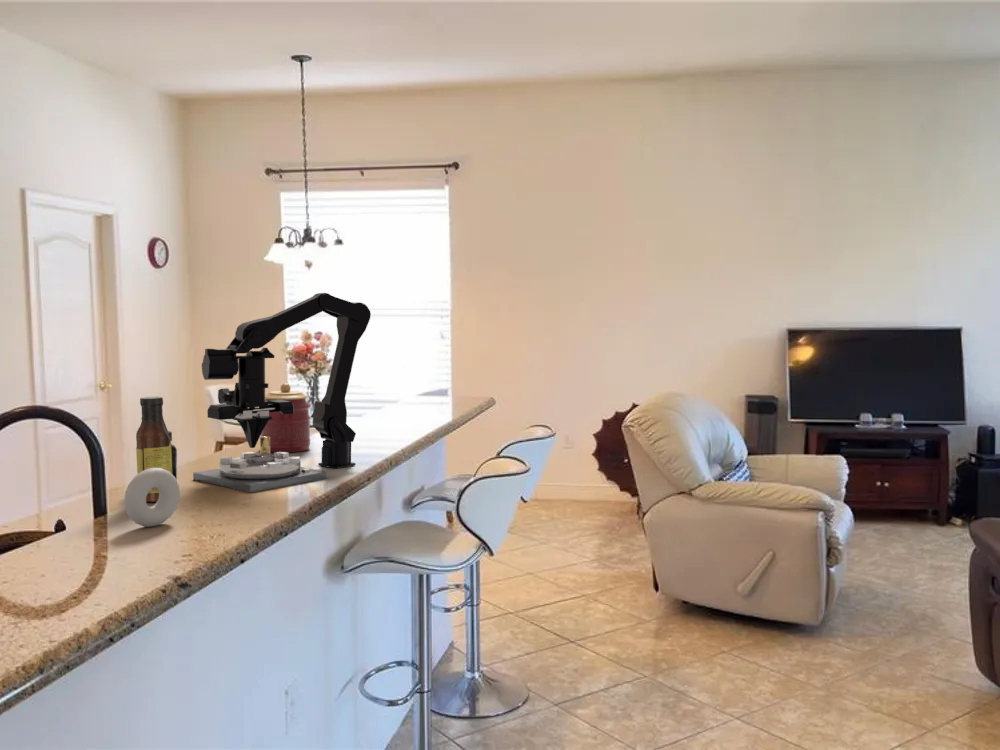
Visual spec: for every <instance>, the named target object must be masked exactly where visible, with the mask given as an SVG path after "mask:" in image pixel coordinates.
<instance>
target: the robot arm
mask: <svg viewBox="0 0 1000 750" xmlns="http://www.w3.org/2000/svg"><path fill="white" fill-rule="evenodd" d="M322 312H323V313H325V314H327V315H329V316H331V317H333V318H336V329H337V337H338V339H337V344H336V349H335V351H334V355H333V356H334V357H333V361H332V366H331V370H330V373H329V377H328V381H327V387H326V392H325V395H324V397H323V398H322V399H321V401H318V400H315V401H314V406H313V412H312V414H311V416H310V419H311V418H312V426H313V427H314V428H315V429H314V430H316V431H317V432H318V433H319V436H320V438H321V439H323V440H322V446H321V462H318V464H317V465H318V466H321V467H326V468H331V469H341V468H346V467H352V466H356V465H357V464H356V462H352V443H353V442H354V440H355V437H356V434H357V433H356V431H354V430H353V428H351V427H350V426H349V425H348V424H347V417H348V416H347V415H348V412H347V403H346V395H347V392H348V386H349V382H350V379H351V374H352V371H353V370H352V369H353V364H354V360H355V356H356V352H357V348H358V347H357V346H358V344H359V340H360V339H361V338H362V336H363V335H364V333H365V332H366V330H367V328H368V325H369V322H370V320H371V310H370V308H369V307H368V306H367V305H366V304H365V303H363V302H359V301H358V302H357V301H356V302H351V301H348V300H346V299H342V298H339V297H336V296H333V295H331V294H330V293H328V292H318V293H315V294H313V295H312V296H311V297H309V298H306V299H305V300H303V301H300V302H298V303H296V304H294V305H292V306H289V307H288V308H286V309H283V310H280V311H279V312H277V313H275V314H273V315H270V316H266V317H261V318H256V319H252V320H249V321H246V322H242V323H241V324H239V325H238V326H237V327H236V330H235V336H234V337H233V339H232V341H230V343H229V345H228V346H227V347H226V348H224V349H223V348H222V349H221V348H220V349H219V348H218V349H215V348H205V349H204V355H203V359H202V362H201V372H202V377H203V379H204V380H205V381H208V380H210V381H212V380H213V381H214V380H215V381H217V380H232V379H234V376H237V374H238V382H235V384H234V390H230V389H229V388H227V387H226V388H220V389H218V390H217V391H218V392H217V401H218V403H219V404H210V406H209V407H208V408H207V418H209V419H212V420H220V421H221V420H222V421H223V420H225V421H226V420H233V421H236V422H237V423H238V424H239V425H240V427H241V429H242V431H243V433H244V437H245V438H246V439H245V440H246V442H247V444H248V447H249V448H251V449H254V448H256V446H257V444H258V441H260V437H261V433H262V431H263V429H264V428H265V426H266V424H267V422H268V421H269V420H270V419H272V417H270V416H269V412H278V411H280V412H281V413H282V414H294V405H293V403H292V402H291V401H285V400H272V401H268V402H267V401H265V395H266V389H269V383H267V382H266V359H274V358H275V355H274V354H273V353H272V352H271V351H270V350H269V348H268V347H264V346H266V345H267V344H268V343H270V342H271V341H273V340H274V339H275V338H276V337H277V336H278V335H279V334H280V333H282V331H285V330H287V329H290V328H291V327H293V326H295V325H297V324H299V323H301V322H303V321H306V320H308V319H310V318H312V317H314V316H315V315H318V314H320V313H322ZM260 348H262V349H261V350H256V349H260ZM253 349H254V350H253ZM237 354H244V355H237Z"/></svg>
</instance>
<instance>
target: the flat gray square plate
mask: <svg viewBox="0 0 1000 750" xmlns="http://www.w3.org/2000/svg"><path fill="white" fill-rule="evenodd" d="M192 474H193V475H192V479H195V480H194V481H198V480H200V481H199V482H202V481H204V483H206V482H207V483H208V484H211V485H215V484H216V485H215V486H219V485H220V487H224V488H228V487H229V489H232V488H233V490H236V491H237V490H238V491H242V492H246V493H250V494H252V493H256V492H263V491H266V490H267V491H268V490H273V489H278V488H283V487H289V486H294V485H300V484H305V483H309V482H315V481H319V480H326V479H327V475H328V474H327V471H325V470H319V469H313V468H310V467H309V468H308V467H304V466H301V471H300V472H299V473H297V474H294V475H290V476H285V477H278V478H267V479H240V478H231V477H226V476H223V475H221V474H220V468H215V469H207V470H203V471H202V470H201V471H195V472H193V473H192Z"/></svg>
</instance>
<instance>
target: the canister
mask: <svg viewBox="0 0 1000 750" xmlns="http://www.w3.org/2000/svg"><path fill="white" fill-rule="evenodd" d="M279 389H280V390H273V391H268V393H266V394H265V401H267V402H268V401H272V400H285V401H291V402H292V403H293V405H294V414H282V413H281V412H280V411H278V412H269V416H270V417H272V419H270V420H269V421H268V422H267V424H266V426H265V428H264V429H263V431H262V433H261V435H260V437H263V436H268V437H270V453H276V452H287V453H290V454H291V453H298V452H304V451H308V450H309V449H310V446H311V434H310V433H311V430H310V429H311V428H310V427H311V422H310V421H311V416H310V415H309V409H310V408H311V404H310V403H309V402H307V398H308V395H306V394H305V393H303V392H302V391H300V390H292V389H291V385H290V384H289V383H282V384H281V385H280V388H279Z"/></svg>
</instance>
